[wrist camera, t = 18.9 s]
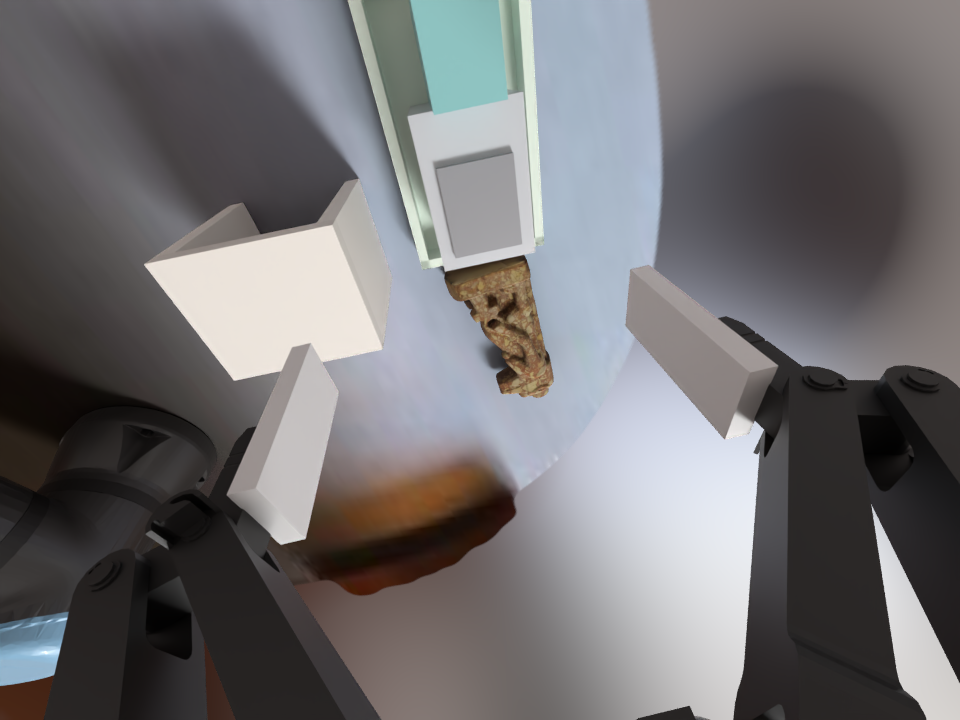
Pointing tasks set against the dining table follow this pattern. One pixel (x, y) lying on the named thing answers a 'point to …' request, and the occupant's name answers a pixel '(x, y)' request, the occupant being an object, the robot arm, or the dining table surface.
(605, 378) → the dining table surface
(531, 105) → the tray
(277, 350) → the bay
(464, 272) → the sculpture
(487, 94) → the teal-capped white block
